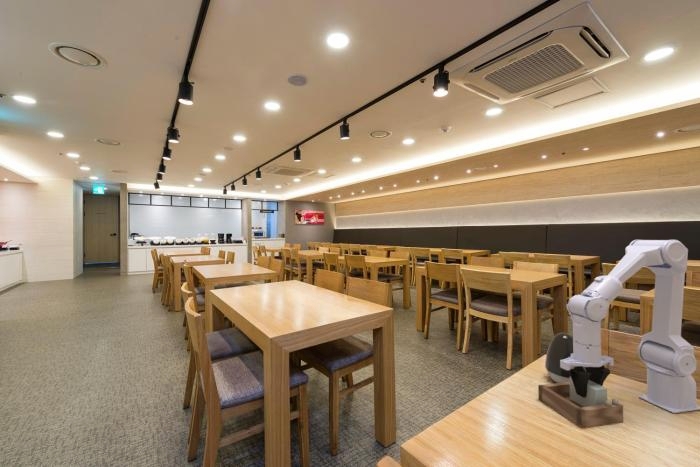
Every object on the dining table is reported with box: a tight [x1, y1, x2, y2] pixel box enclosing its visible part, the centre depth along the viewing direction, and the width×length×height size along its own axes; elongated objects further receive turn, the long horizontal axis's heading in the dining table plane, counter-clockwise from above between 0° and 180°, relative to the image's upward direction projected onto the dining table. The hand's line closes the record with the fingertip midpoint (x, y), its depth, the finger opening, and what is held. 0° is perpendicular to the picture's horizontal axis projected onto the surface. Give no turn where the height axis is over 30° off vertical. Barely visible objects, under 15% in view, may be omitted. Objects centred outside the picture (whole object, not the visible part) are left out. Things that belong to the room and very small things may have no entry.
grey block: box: [570, 377, 608, 407], centre depth 77 cm, size 4×7×6 cm, turn 11°
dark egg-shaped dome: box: [544, 332, 586, 383], centre depth 91 cm, size 10×10×15 cm
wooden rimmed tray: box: [537, 382, 624, 429], centre depth 76 cm, size 12×12×5 cm
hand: (587, 394), depth 77 cm, fingers closed on grey block, 3 cm apart
